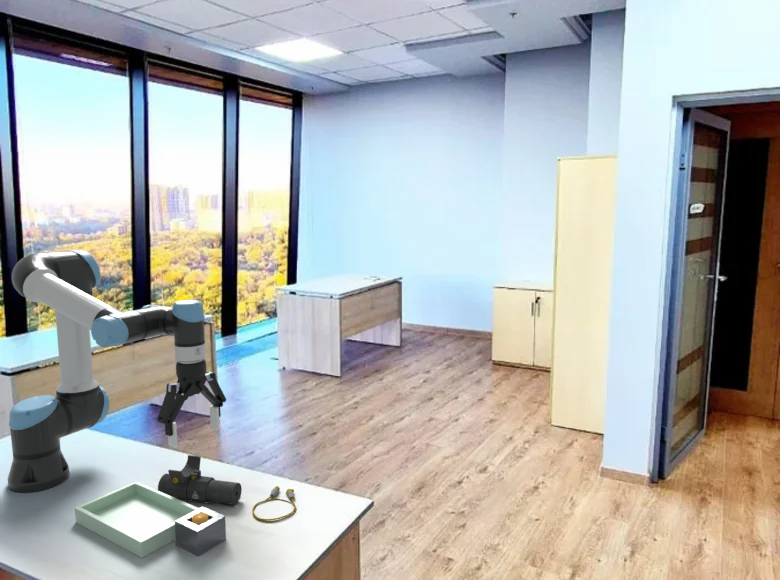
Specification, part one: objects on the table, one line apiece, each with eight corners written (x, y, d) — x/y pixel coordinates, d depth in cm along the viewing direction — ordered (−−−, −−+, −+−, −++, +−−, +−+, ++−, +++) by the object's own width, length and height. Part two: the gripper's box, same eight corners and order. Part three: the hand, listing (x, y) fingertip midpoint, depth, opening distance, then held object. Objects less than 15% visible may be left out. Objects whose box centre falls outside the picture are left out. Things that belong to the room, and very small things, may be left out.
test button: (189, 537, 139) (188, 517, 138) (202, 530, 142) (201, 511, 141) (199, 542, 137) (198, 522, 136) (212, 535, 140) (211, 515, 139)
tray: (75, 522, 148) (74, 507, 147) (137, 494, 162) (136, 481, 161) (142, 558, 133) (141, 542, 133) (203, 524, 147) (202, 509, 147)
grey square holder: (175, 544, 138) (174, 521, 137) (203, 529, 145) (202, 506, 144) (198, 556, 134) (197, 531, 133) (226, 539, 141) (225, 516, 140)
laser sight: (228, 514, 152) (226, 477, 151) (150, 503, 157) (148, 468, 156) (245, 495, 162) (244, 461, 160) (172, 486, 167) (170, 452, 165)
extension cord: (313, 500, 160) (313, 493, 160) (276, 528, 146) (276, 521, 146) (278, 489, 166) (278, 483, 166) (239, 516, 152) (238, 508, 152)
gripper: (158, 373, 141) (163, 457, 145) (237, 351, 162) (240, 425, 165) (138, 369, 146) (144, 450, 149) (218, 348, 166) (221, 420, 169)
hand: (194, 437), depth 157 cm, fingers open, 13 cm apart
